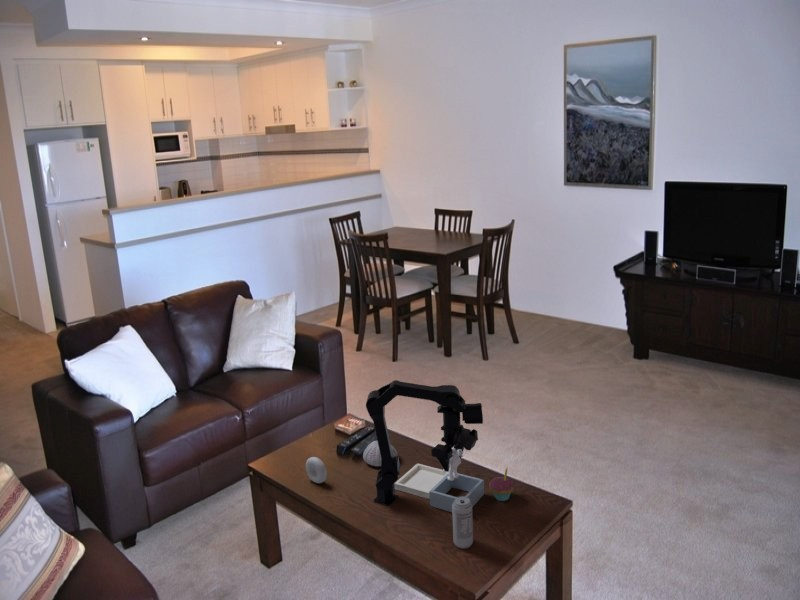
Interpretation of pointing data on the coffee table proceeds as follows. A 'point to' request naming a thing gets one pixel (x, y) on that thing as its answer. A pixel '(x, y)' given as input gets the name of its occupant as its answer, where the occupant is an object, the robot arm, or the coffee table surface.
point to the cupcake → (502, 487)
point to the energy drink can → (462, 522)
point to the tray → (420, 480)
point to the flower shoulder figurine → (454, 464)
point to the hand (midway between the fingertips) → (452, 465)
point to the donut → (321, 471)
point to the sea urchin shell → (374, 454)
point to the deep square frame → (462, 482)
